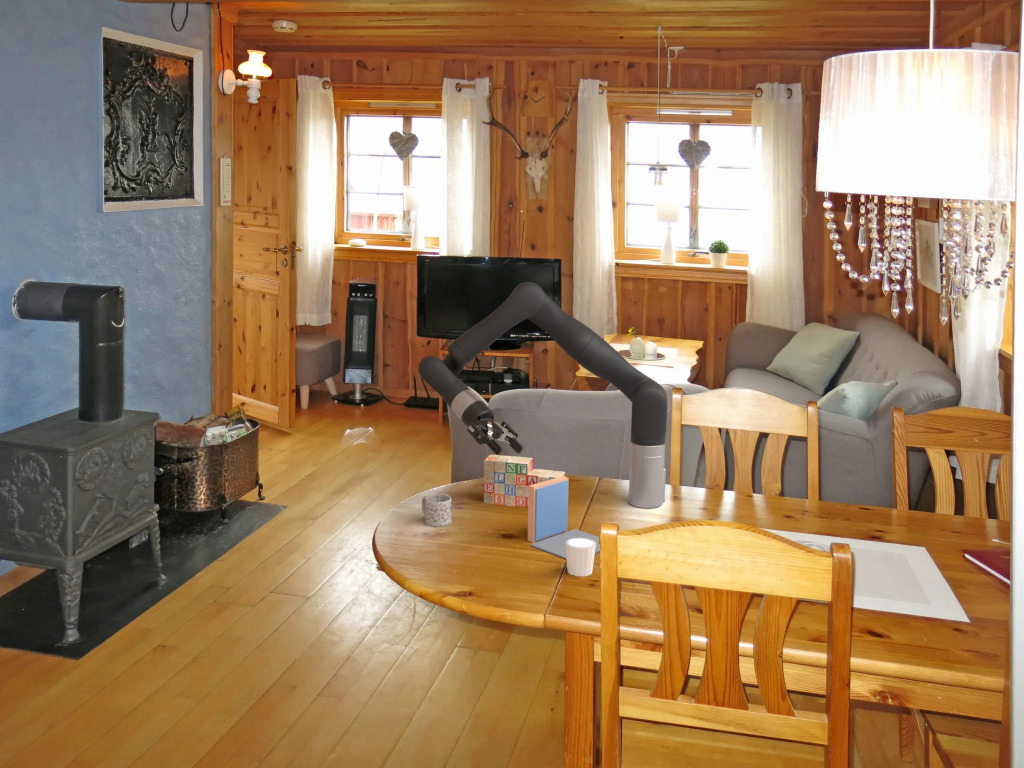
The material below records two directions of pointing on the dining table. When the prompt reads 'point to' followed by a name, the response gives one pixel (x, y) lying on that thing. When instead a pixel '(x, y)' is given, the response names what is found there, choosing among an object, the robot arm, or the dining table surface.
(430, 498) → the mug
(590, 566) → the white cup
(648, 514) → the dining table surface
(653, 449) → the robot arm
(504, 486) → the stack of blocks
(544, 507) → the tile
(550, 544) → the mat
